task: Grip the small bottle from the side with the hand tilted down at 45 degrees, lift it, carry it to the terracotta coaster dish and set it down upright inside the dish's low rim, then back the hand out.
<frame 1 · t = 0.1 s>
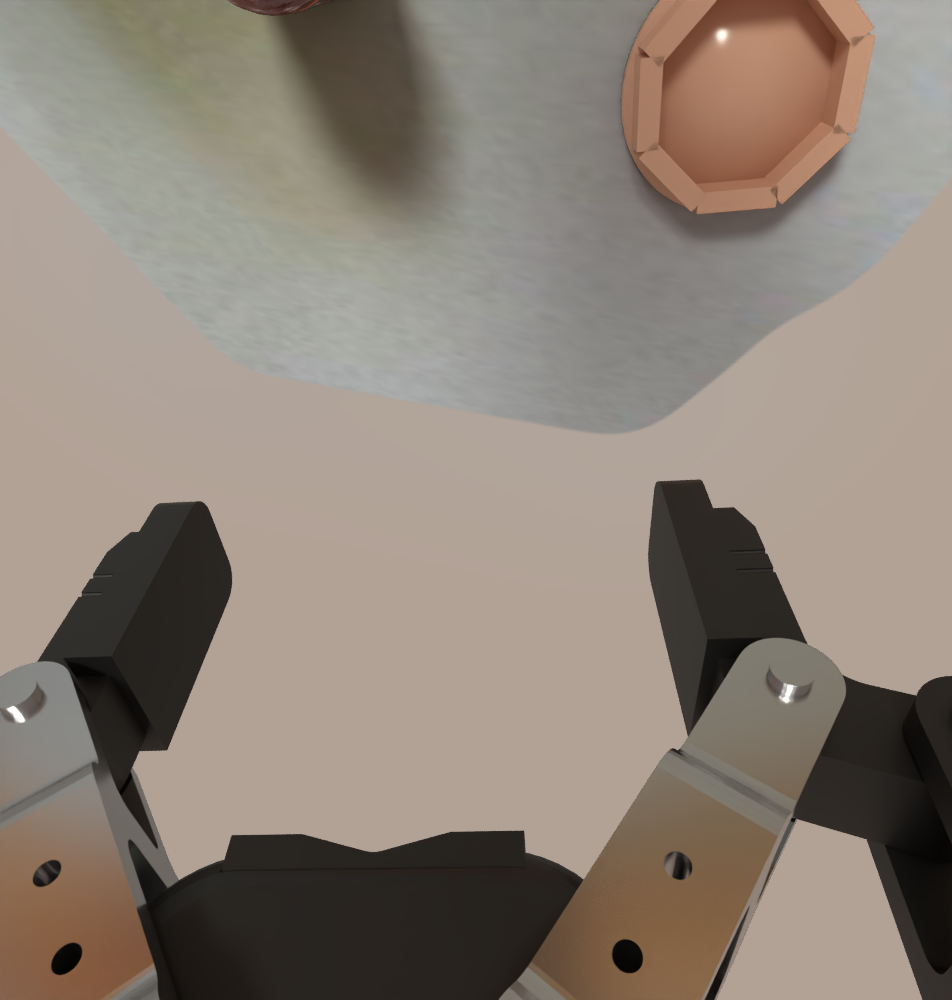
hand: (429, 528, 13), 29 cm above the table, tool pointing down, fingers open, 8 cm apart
coaster dish: (737, 88, 34), on the table
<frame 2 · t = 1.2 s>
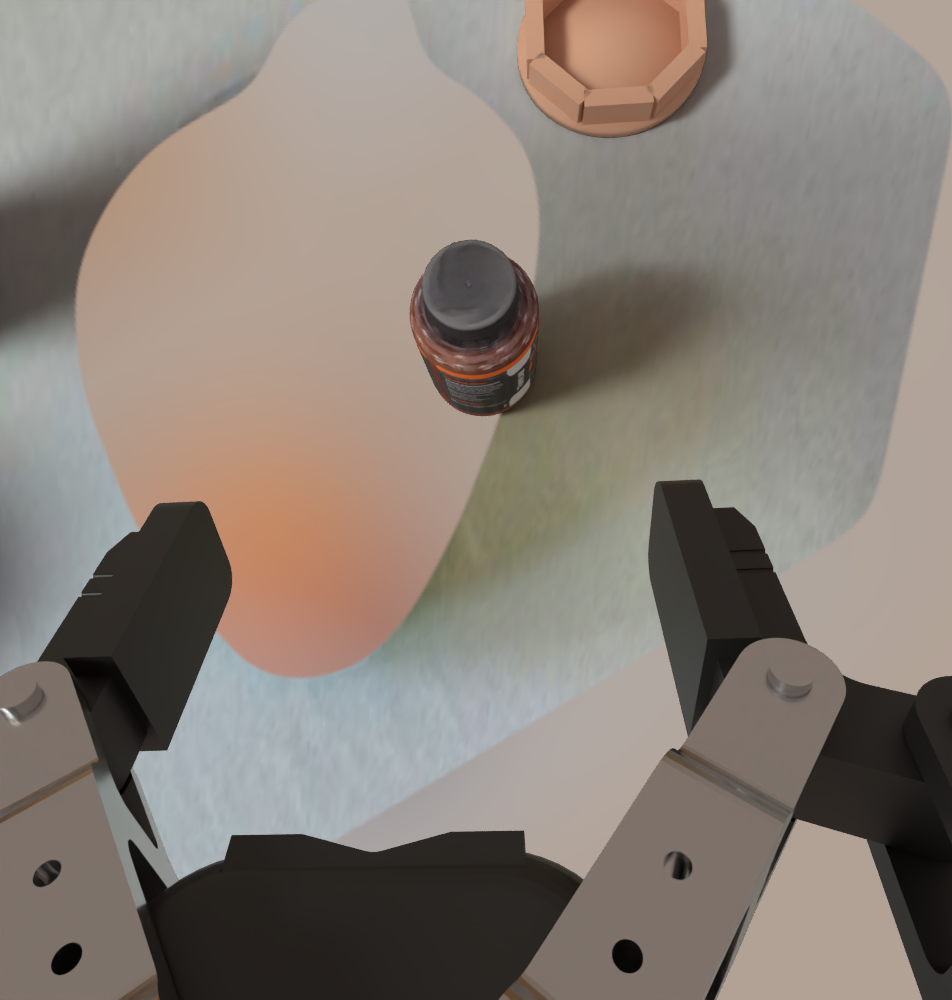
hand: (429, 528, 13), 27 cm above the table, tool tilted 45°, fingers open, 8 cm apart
supplement bottle: (484, 368, 41), on the table
coaster dish: (610, 50, 43), on the table
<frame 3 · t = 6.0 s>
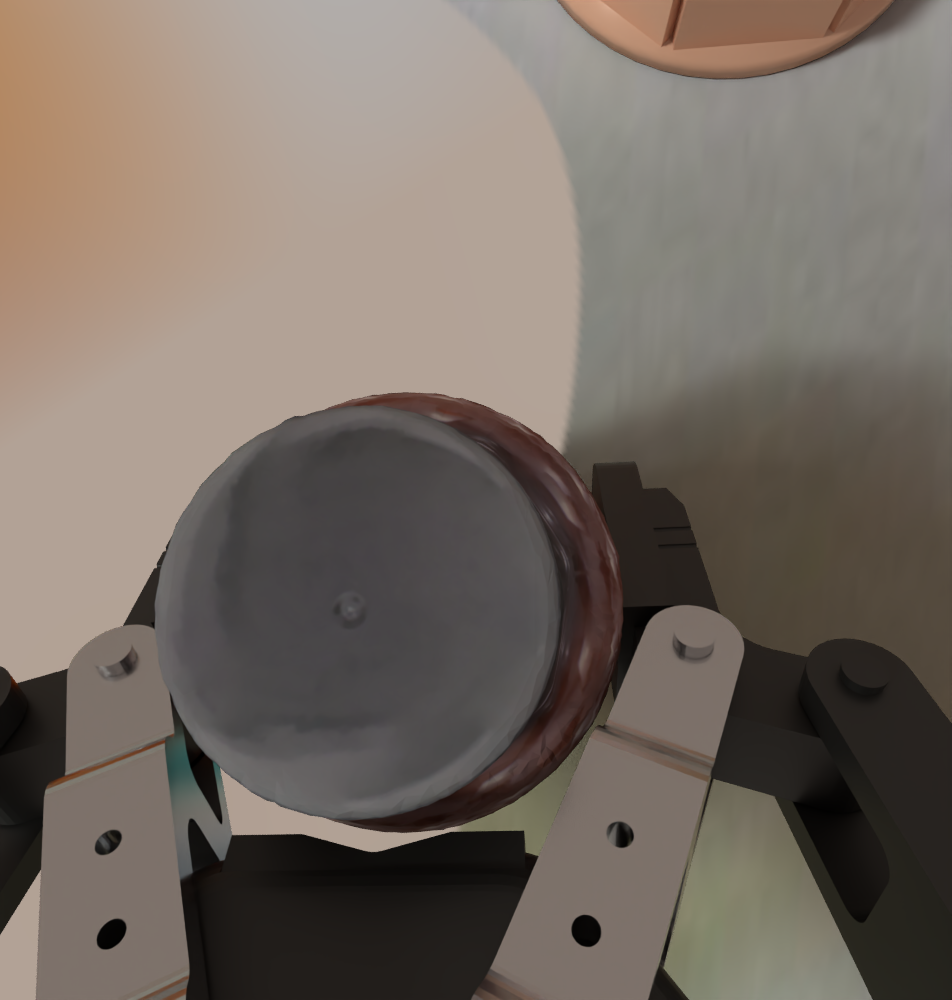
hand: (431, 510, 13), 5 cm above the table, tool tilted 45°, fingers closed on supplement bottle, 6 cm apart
supplement bottle: (461, 599, 18), on the table, touching gripper
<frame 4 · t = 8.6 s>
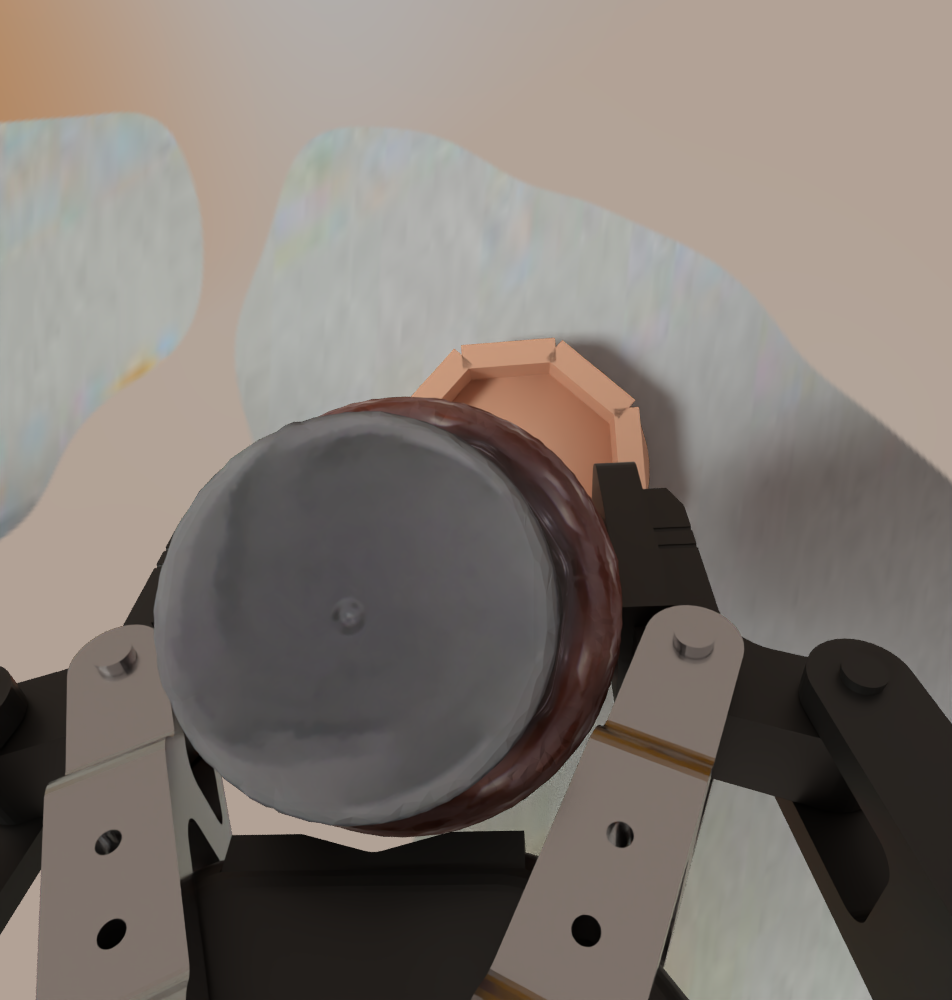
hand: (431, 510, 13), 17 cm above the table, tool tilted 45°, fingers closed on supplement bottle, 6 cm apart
supplement bottle: (460, 601, 18), point 12 cm above the table, touching gripper
coaster dish: (516, 471, 31), on the table
when the fingers open (7 cm above the table, at t = 11.5 s): supplement bottle drops 1 cm, resting on coaster dish.
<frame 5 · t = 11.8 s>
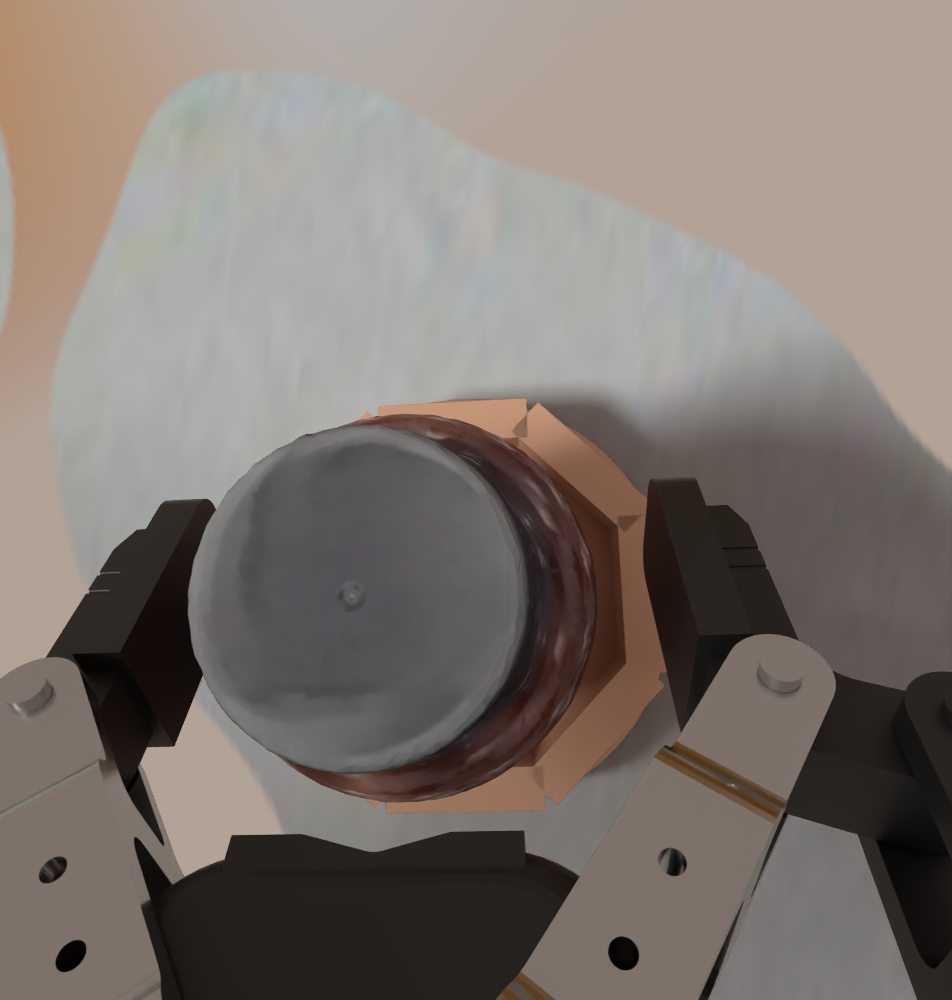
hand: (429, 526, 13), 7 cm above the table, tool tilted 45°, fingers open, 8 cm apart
supplement bottle: (463, 607, 19), point 1 cm above the table, touching coaster dish
coaster dish: (465, 598, 20), on the table
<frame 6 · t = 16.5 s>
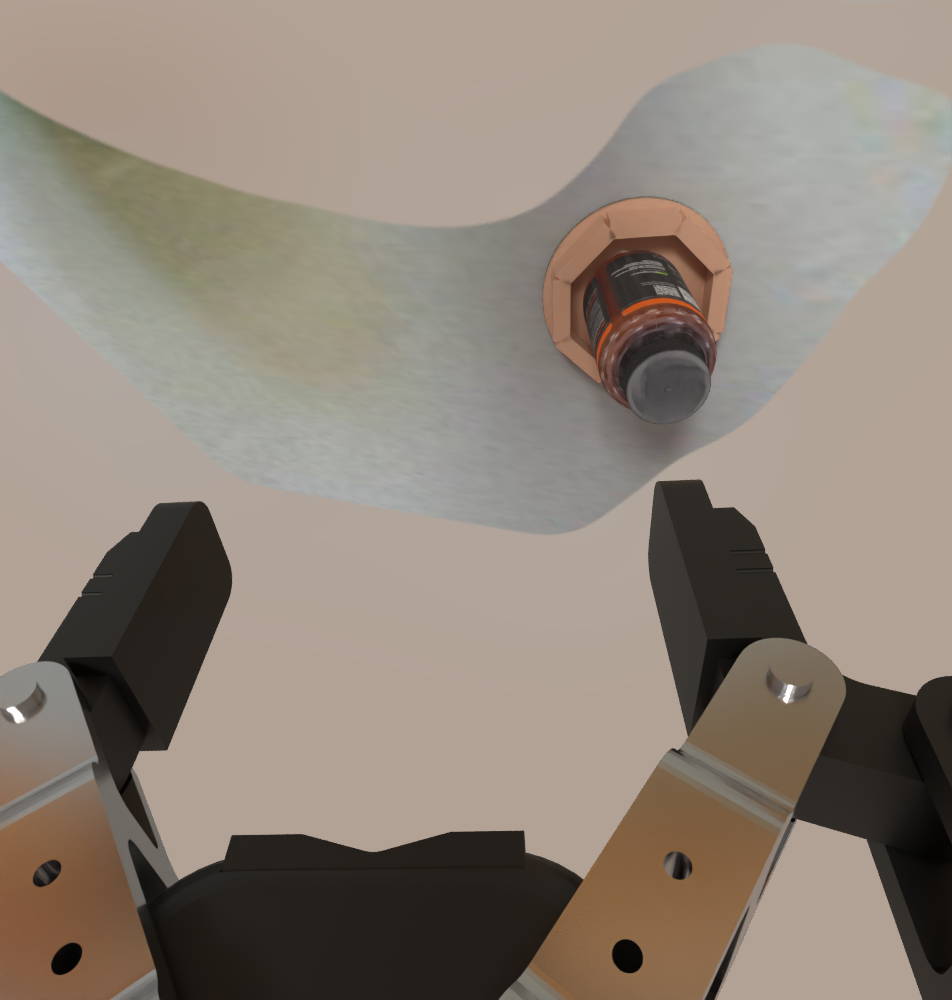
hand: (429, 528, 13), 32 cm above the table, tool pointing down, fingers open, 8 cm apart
supplement bottle: (631, 294, 43), resting on coaster dish
coaster dish: (634, 292, 43), on the table
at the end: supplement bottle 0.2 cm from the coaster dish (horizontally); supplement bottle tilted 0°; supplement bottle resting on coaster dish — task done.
